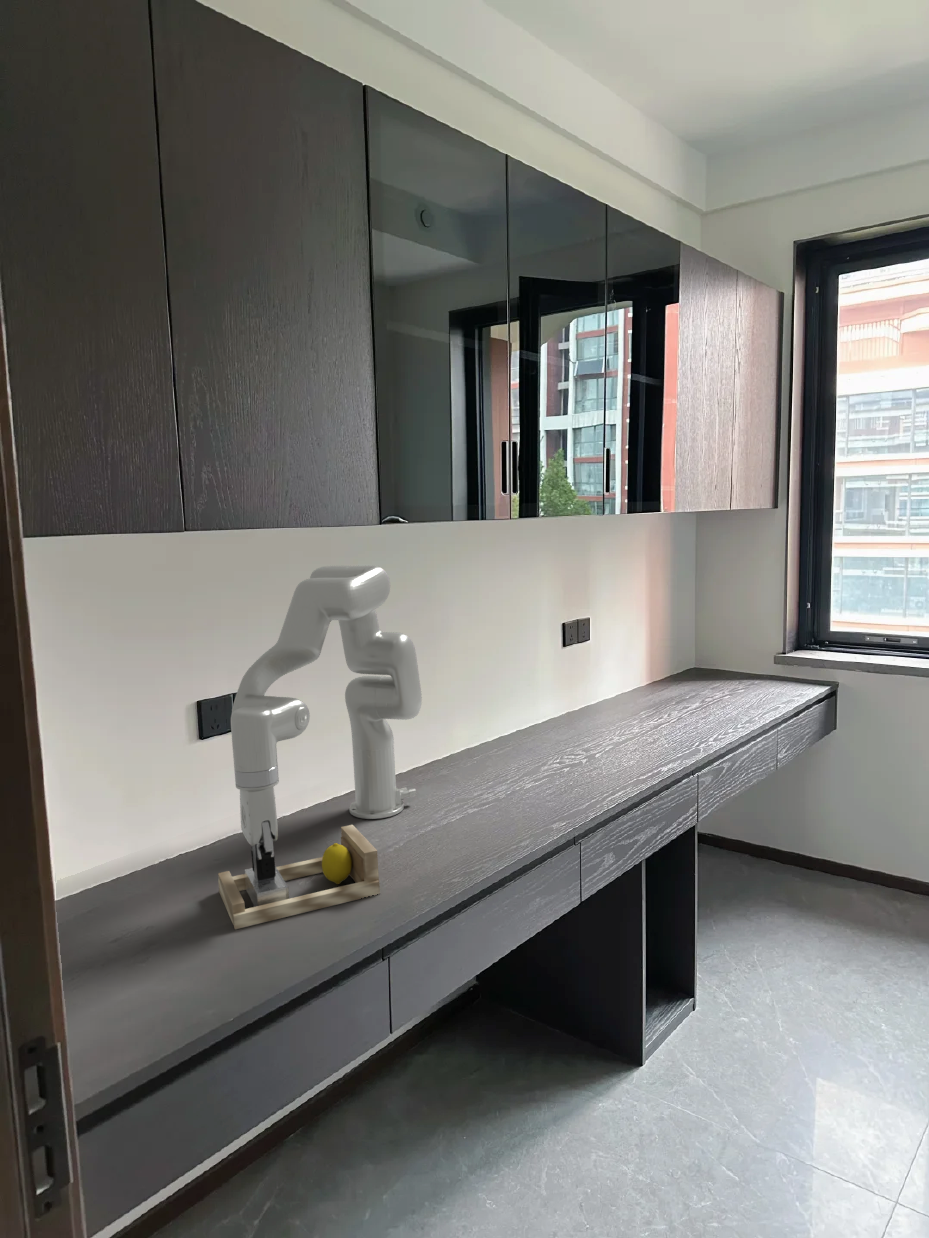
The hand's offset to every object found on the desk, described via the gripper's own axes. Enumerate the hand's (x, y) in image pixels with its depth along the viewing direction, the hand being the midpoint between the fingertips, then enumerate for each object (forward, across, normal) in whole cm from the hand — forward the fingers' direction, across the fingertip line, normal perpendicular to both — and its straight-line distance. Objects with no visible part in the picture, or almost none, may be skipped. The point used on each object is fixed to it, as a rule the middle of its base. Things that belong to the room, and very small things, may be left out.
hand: (264, 873), depth 152 cm
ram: (+5, 0, 0) cm, 5 cm away
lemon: (+5, 0, +14) cm, 15 cm away
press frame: (+5, 0, +6) cm, 8 cm away
